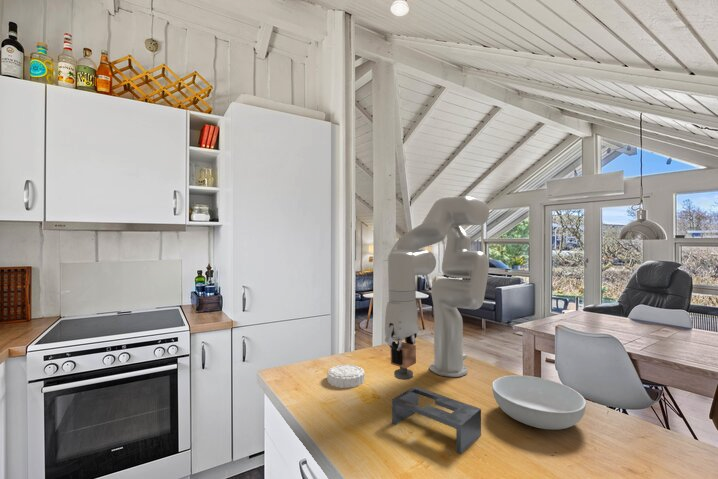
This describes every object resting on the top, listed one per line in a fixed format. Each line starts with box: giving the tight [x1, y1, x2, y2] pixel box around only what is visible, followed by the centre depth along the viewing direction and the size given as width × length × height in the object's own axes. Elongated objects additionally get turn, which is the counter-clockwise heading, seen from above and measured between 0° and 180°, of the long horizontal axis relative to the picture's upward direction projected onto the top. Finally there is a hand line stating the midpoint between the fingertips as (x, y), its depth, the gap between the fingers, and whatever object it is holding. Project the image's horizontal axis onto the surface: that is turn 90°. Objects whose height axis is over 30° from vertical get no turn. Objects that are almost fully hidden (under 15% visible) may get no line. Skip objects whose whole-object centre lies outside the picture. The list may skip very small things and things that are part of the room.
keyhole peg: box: [390, 341, 417, 381], centre depth 96 cm, size 5×5×8 cm
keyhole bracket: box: [391, 386, 482, 455], centre depth 81 cm, size 18×10×6 cm, turn 47°
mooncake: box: [326, 364, 366, 389], centre depth 110 cm, size 12×12×4 cm
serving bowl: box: [491, 374, 587, 430], centre depth 86 cm, size 21×21×7 cm
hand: (403, 360), depth 96 cm, fingers closed on keyhole peg, 5 cm apart
